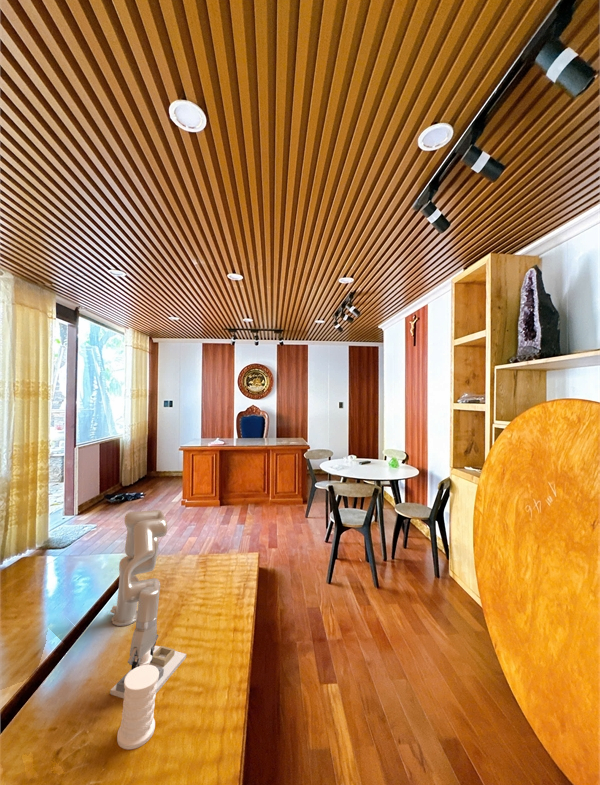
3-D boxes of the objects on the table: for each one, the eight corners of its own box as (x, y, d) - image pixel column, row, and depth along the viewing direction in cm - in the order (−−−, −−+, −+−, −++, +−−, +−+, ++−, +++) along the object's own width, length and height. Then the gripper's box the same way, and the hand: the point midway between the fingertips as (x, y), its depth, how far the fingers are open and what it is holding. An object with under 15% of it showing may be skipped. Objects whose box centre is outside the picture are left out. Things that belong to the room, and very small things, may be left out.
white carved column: (147, 749, 107) (153, 690, 108) (110, 749, 106) (116, 690, 107) (159, 716, 118) (164, 664, 119) (126, 716, 117) (131, 663, 119)
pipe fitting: (153, 665, 134) (155, 644, 135) (145, 679, 127) (147, 657, 128) (137, 664, 134) (139, 643, 135) (129, 678, 127) (131, 656, 128)
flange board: (110, 694, 126) (111, 683, 126) (155, 648, 151) (156, 639, 151) (145, 706, 122) (146, 694, 122) (186, 657, 147) (186, 648, 147)
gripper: (153, 607, 141) (148, 651, 140) (122, 632, 125) (116, 682, 123) (168, 611, 139) (163, 655, 138) (139, 637, 123) (133, 688, 121)
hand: (141, 667), depth 131 cm, fingers closed on pipe fitting, 7 cm apart
